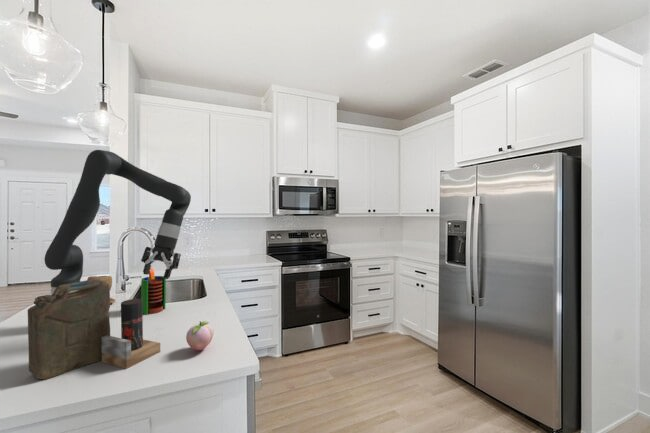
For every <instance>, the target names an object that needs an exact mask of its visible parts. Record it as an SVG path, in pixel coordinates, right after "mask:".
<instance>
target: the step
mask: <svg viewBox="0 0 650 433" xmlns="http://www.w3.org/2000/svg"><path fill="white" fill-rule="evenodd" d="M160 352H161V342H157V341H152V340H147V339H144V338H143V346H142V347H141V348H139V349H137V350H134V351H131V340H126V339H122V338H121V337H116V336H112V335H110V336H108V335H106V336H103V337H102V360H101V363H103V364H107V365H109V366H110V365H111V366H115V367H118V368H123V369H129V368H131V367H133V366H135V365H136V364H139V363H141V362H143V361H145V360H147V359H148V358H151V357H152V356H155V355H156V354H159V353H160Z"/></svg>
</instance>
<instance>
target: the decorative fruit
mask: <svg viewBox="0 0 650 433" xmlns="http://www.w3.org/2000/svg"><path fill="white" fill-rule="evenodd" d="M213 336H214V328H213V326H212V325H210V322H209V321H206V320H205V321H200V320H199V323H196V324H193V325H192V326H191V327H190V328H189V329H188V330H187V332H186V337H185V338H186V339H185V340H186V344H188V346H189V347H190V348H191V349H193V350H196V351H203V350H205V348H206V347H208V346H209V345H210V343H211V342H212V340H213Z"/></svg>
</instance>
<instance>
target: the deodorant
mask: <svg viewBox="0 0 650 433" xmlns="http://www.w3.org/2000/svg"><path fill="white" fill-rule="evenodd" d="M143 315H144V314H143V311H142V300H141V298H133V299H127V300H123V301H122V302H120V323H121V324H120V328H121V330H120V331H121V334H120V336H121V337H120V338H122V339H126V340H131V351H134V350H137V349H139V348H141V347H142V346H143V339H144V333H143V332H144V331H143V330H144V328H143V326H144V325H143V323H144V322H143Z"/></svg>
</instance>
